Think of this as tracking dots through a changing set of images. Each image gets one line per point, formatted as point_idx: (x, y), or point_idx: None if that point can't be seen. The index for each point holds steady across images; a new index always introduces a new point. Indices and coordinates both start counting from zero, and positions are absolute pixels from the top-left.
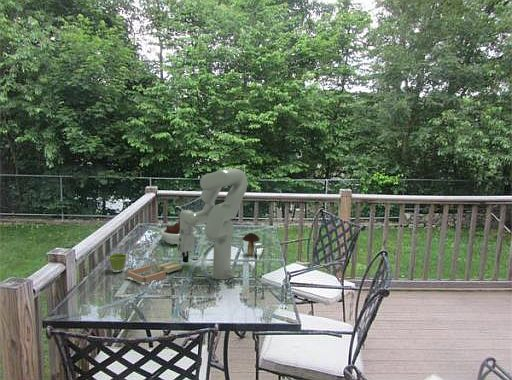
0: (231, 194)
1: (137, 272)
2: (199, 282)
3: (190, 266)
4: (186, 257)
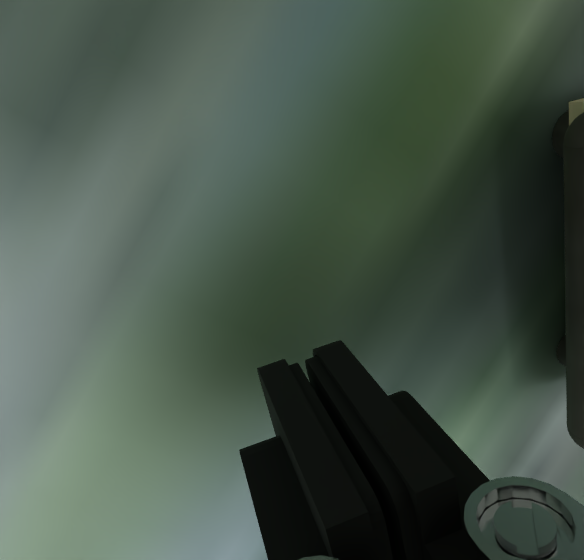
0: None
1: None
2: None
3: (182, 281)
4: (422, 444)
